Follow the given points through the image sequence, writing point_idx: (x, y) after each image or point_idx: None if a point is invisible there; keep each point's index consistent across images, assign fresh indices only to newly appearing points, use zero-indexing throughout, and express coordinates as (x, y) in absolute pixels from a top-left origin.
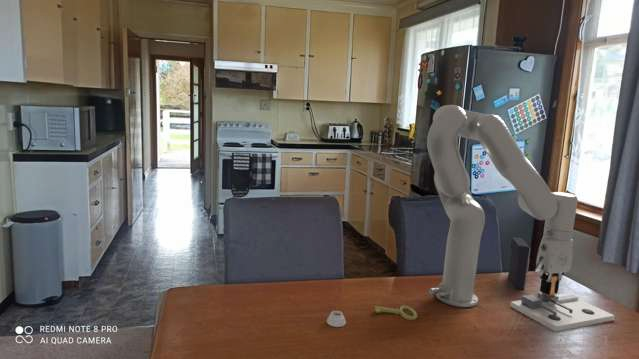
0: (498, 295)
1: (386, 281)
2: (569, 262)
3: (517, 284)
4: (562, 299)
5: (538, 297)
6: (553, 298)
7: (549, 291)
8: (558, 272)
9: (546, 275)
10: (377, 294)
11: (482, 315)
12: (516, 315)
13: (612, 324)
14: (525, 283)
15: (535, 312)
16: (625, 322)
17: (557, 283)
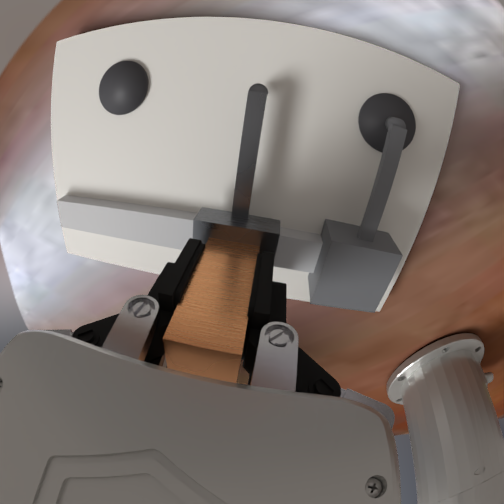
0: (313, 355)
1: None
2: (3, 418)
3: None
4: (143, 215)
5: None
6: (238, 223)
7: (271, 264)
8: (217, 384)
9: (298, 385)
10: (490, 394)
11: (494, 291)
12: (435, 245)
13: (109, 11)
14: (165, 357)
15: (406, 207)
16: (54, 26)
17: (179, 286)
